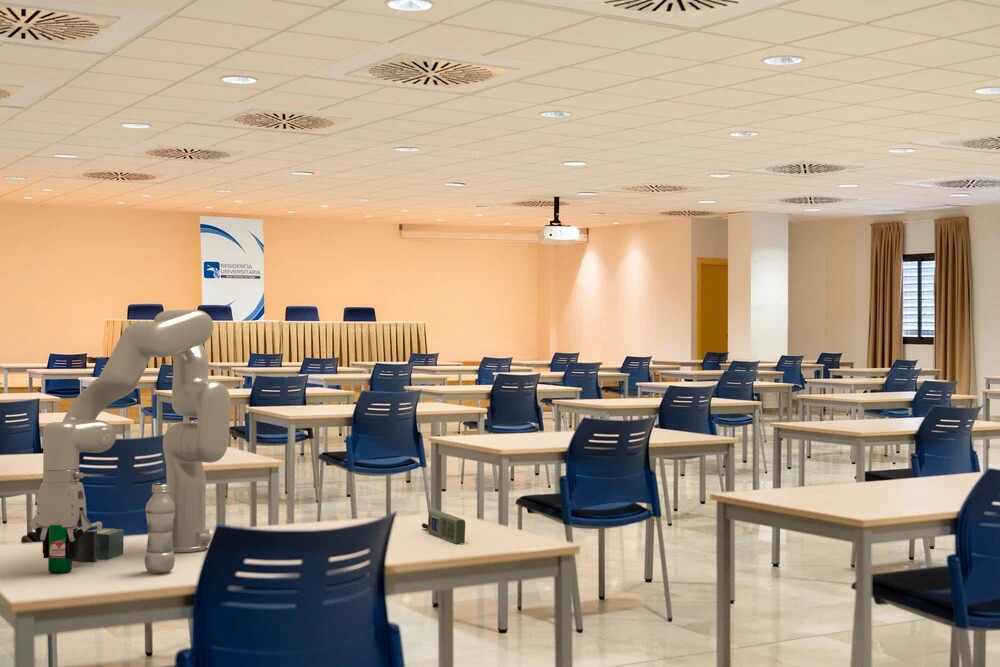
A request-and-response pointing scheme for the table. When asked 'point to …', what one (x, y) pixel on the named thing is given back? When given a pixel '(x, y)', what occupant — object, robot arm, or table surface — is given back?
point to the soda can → (58, 550)
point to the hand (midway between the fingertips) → (60, 556)
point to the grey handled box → (88, 546)
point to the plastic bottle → (160, 530)
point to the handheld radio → (445, 526)
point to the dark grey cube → (110, 543)
